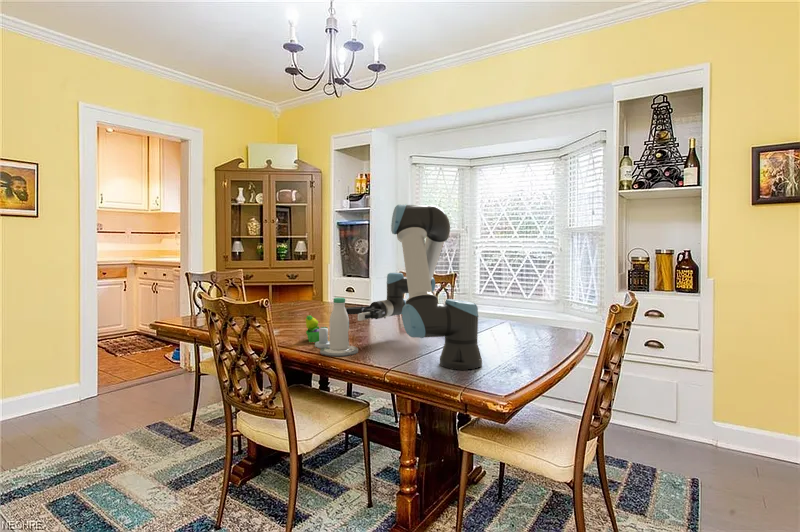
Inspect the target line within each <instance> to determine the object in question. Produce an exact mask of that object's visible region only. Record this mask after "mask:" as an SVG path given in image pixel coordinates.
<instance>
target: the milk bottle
mask: <svg viewBox="0 0 800 532" xmlns="http://www.w3.org/2000/svg"><path fill="white" fill-rule="evenodd" d="M332 302H333V309H332V311H331V313H330V316H329V329H328V339H329V340H328V341H329V346H330V349H333V350H344V349H347V348H349V345H350V319H349V314H347V312H346V309H345V308H346V307H345V306H346V305H345V304H346V298H344V297H334V298H333V300H332Z"/></svg>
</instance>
